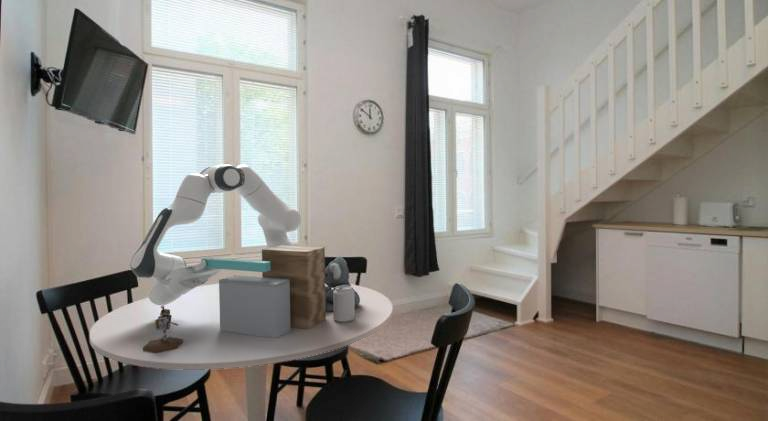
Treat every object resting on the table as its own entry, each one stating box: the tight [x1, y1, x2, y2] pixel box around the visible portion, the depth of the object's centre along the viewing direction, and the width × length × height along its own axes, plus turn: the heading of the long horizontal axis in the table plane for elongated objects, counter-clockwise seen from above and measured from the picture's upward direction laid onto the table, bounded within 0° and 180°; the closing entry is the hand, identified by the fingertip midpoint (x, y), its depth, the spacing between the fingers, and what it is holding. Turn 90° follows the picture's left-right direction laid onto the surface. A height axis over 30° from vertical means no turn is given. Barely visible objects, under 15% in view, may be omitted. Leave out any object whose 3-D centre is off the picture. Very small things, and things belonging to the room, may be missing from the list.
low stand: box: [218, 274, 291, 339], centre depth 137 cm, size 8×22×17 cm, turn 70°
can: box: [333, 285, 356, 323], centre depth 148 cm, size 8×8×12 cm
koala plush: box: [325, 256, 361, 312], centre depth 165 cm, size 17×18×20 cm
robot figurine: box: [142, 305, 184, 354], centre depth 124 cm, size 11×9×12 cm
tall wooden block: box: [261, 245, 326, 330], centre depth 147 cm, size 12×18×26 cm, turn 70°
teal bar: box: [200, 257, 271, 273], centre depth 139 cm, size 3×26×3 cm, turn 70°
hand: (211, 261), depth 143 cm, fingers closed on teal bar, 3 cm apart
